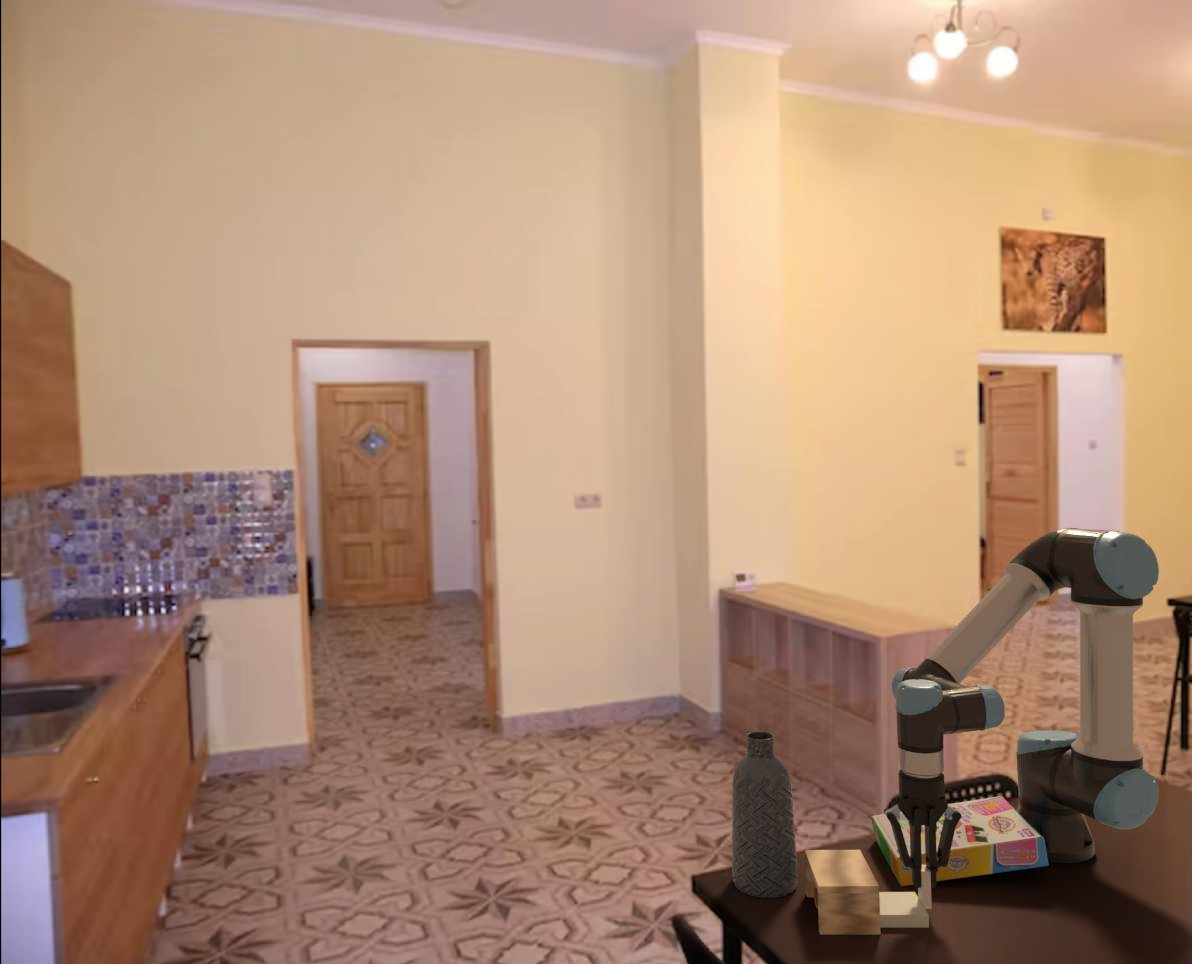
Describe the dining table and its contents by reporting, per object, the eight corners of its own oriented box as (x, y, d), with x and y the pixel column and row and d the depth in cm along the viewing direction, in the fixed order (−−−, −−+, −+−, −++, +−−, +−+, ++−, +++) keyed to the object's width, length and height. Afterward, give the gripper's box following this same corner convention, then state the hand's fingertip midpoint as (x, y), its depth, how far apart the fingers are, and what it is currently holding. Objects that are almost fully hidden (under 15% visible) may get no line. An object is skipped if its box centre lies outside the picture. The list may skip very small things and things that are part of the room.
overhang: (861, 893, 163) (860, 849, 163) (880, 934, 149) (879, 886, 149) (806, 894, 163) (804, 849, 163) (820, 934, 149) (818, 886, 149)
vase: (726, 894, 164) (721, 743, 164) (739, 866, 176) (734, 724, 175) (793, 903, 160) (788, 748, 160) (801, 873, 172) (797, 728, 171)
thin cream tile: (915, 905, 159) (914, 891, 158) (929, 929, 151) (928, 914, 150) (847, 905, 159) (846, 892, 159) (857, 929, 151) (856, 914, 151)
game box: (899, 887, 165) (1050, 867, 162) (894, 858, 165) (1045, 837, 162) (875, 839, 185) (1008, 820, 183) (870, 814, 185) (1003, 794, 183)
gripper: (952, 763, 158) (955, 894, 158) (877, 764, 159) (881, 894, 159) (966, 778, 150) (970, 915, 151) (888, 779, 151) (892, 915, 152)
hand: (924, 904), depth 155 cm, fingers closed
